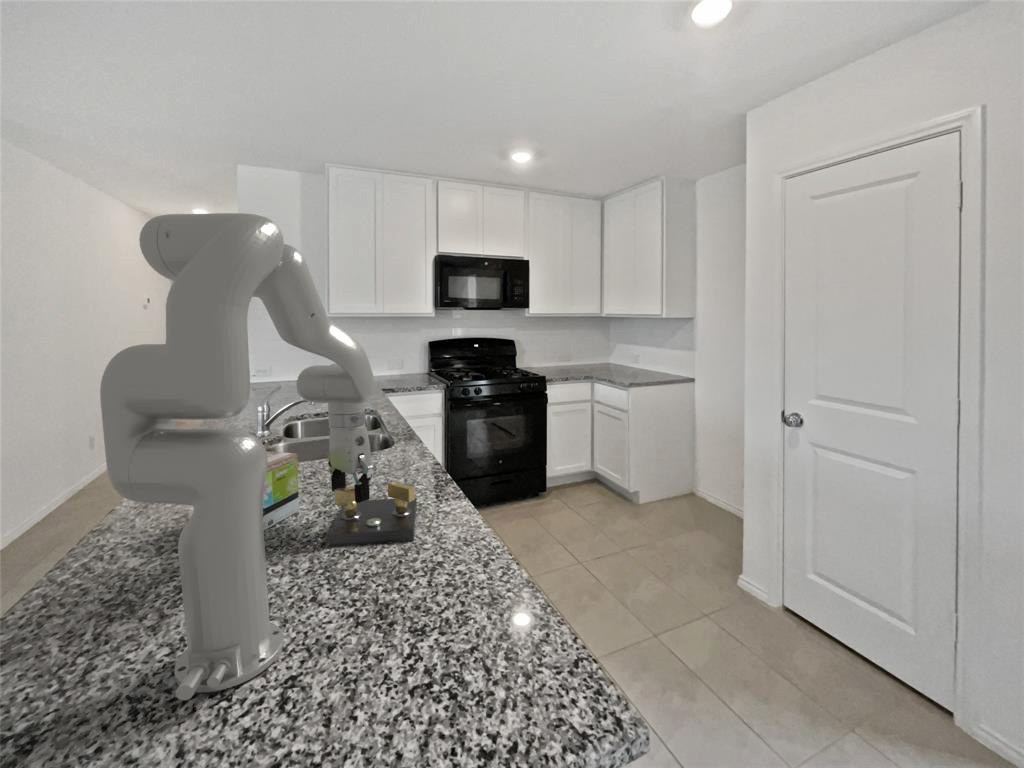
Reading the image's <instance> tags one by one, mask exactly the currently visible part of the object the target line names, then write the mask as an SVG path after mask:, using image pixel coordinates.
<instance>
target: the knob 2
mask: <svg viewBox="0 0 1024 768" xmlns="http://www.w3.org/2000/svg"><path fill="white" fill-rule="evenodd" d="M415 496H416V495H415V486H413V485H408V484H405V483H402V482H397V481H390V482H388V483H387V497H389V498H390V499H395V502H396V512H397V513H404V512H407V502H411V501H413V500H415V498H416V497H415Z"/></svg>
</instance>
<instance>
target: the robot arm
mask: <svg viewBox="0 0 1024 768" xmlns="http://www.w3.org/2000/svg"><path fill="white" fill-rule="evenodd" d="M138 240H139V246H140V250H141V254H142V256H143V258H144V259H145V261H146V263H147V264H148V265H149V266H150V267H151V268H152V269H153V270H154V271H155V272H157V274H159V275H160V276H162V277H164V278H166V279H168V280H170V281H173V282H172V284H171V286H170V289H169V291H168V294H167V297H166V303H165V343H163V344H162V343H159V344H158V343H155V344H154V343H146V344H145V343H144V344H143V343H142V344H137V345H133V346H129V347H126V348H123V349H122V350H120V351H119V352H117V353H116V354H115V355H114V356H113V357H112V358H111V359H110V360H109V362H107V365H106V367H105V369H104V371H103V374H102V376H101V381H100V387H99V388H100V389H99V393H100V395H99V396H100V410H101V421H102V430H103V431H102V432H103V442H104V451H105V452H104V454H105V462H106V470H107V474H108V479H109V481H110V484H111V486H112V487H113V490H114V491H115V492H116V493H117V494H118V495H119V496H120V497H122V498H123V499H125V500H128V501H130V502H135V503H143V504H168V505H169V504H171V505H172V504H173V505H183V506H184V505H186V506H187V505H188V506H192V508H193V509H192V511H193V512H192V513H191V514H192V515H191V516H190V518H189V520H188V521H187V522H186V524H185V526H184V527H183V528H182V530H181V532H180V533H179V534H180V535H179V539H178V544H177V552H178V555H177V556H178V561H179V572H180V573H179V575H180V584H181V585H180V586H181V594H182V605H183V615H184V623H185V624H184V625H185V636H186V638H185V639H186V647H187V648H186V649H185V650H184V651H183V652H182V653H181V655H180V656H178V658H177V661H176V662H175V665H174V671H173V672H174V680H175V682H176V684H177V688H176V689H175V697H176V698H177V699H178V700H179V701H188V700H190V699H191V698H192V697H193V696H194V694H195V693H197V694H198V693H200V694H201V693H202V692H203V693H213V692H219V691H224V690H227V688H228V689H231V688H234V687H236V686H238V685H241V684H244V683H245V682H247V681H249V680H251V679H253V678H255V677H256V676H258V675H260V674H261V673H263V672H264V671H266V669H267V668H269V667H270V666H271V665H272V664H273V663H274V662H275V661H276V659H278V657H279V656H280V655H281V652H282V650H283V647H284V643H285V642H284V640H285V639H284V633H283V630H282V629H281V628H280V627H279V626H278V625H276V624H274V623H273V622H270V608H269V606H270V605H269V592H268V591H269V590H268V577H267V576H268V575H267V564H266V563H267V562H266V561H267V560H266V547H265V535H264V531H265V530H263V496H264V487H265V480H266V474H267V465H268V457H267V452H266V451H267V449H266V447H265V445H264V444H263V443H262V440H260V439H259V438H258V437H257V436H254V435H253V434H250V433H248V432H245V431H241V430H235V429H226V428H176V420H185V421H186V420H187V421H188V420H192V421H193V420H194V421H195V420H197V421H204V420H205V421H206V420H209V421H210V420H222V419H223V420H224V419H229V418H233V417H235V416H237V415H239V414H241V413H242V412H243V411H244V410H245V409H246V407H247V406H248V403H249V399H250V394H251V373H250V372H251V370H250V355H249V352H250V351H249V349H250V348H249V334H248V311H249V307H250V303H251V300H252V298H258V299H260V300H261V301H262V302H261V303H262V304H263V306H264V307H265V310H266V312H267V314H268V315H269V317H270V319H271V321H272V324H273V325H274V327H275V329H276V331H277V333H278V336H279V338H281V340H283V341H284V342H286V343H287V344H289V345H291V346H292V347H295V348H298V349H299V350H303V351H306V352H308V353H310V354H314V355H317V356H319V357H322V358H325V359H328V360H330V361H332V362H334V363H332V364H329V365H323V364H322V365H321V364H320V365H318V364H316V365H311V366H308V367H306V368H305V369H303V370H302V371H301V372H300V373H299V374H298V376H297V379H296V390H297V393H298V395H299V396H300V397H301V399H303V400H305V401H306V402H309V403H315V404H327V412H328V413H327V414H328V415H327V416H328V429H329V437H328V438H329V441H328V442H329V443H328V446H329V448H328V449H329V450H328V451H327V452H326V457H327V460H328V462H327V464H328V466H329V468H330V469H329V473H330V475H331V476H330V481H331V491H332V492H333V493H334V490H335V489H339V488H340V489H341V488H346V487H347V482H346V474H349V475H352V477H353V479H354V481H355V484H354V485H353V486H355V502H356V503H359V502H363V501H366V500H370V497H371V496H370V494H371V493H370V483H371V479H372V478H373V472H374V465H373V464H372V457H371V456H372V455H371V444H370V438H369V433H368V429H367V426H366V403H365V402H368V401H369V400H370V399H371V398H372V396H373V394H374V391H375V377H374V374H373V370H372V366H371V364H370V361H369V358H368V357H369V356H368V355H367V353H366V350H365V349H364V348H363V346H362V345H361V344H360V342H358V341H357V339H355V338H354V337H353V336H352V335H350V334H349V333H348V332H346V330H344V329H343V328H342V327H340V326H339V325H337V324H336V323H335V322H333V321H331V320H330V319H329V317H328V316H327V313H326V310H325V307H324V306H323V302H322V300H321V297H320V295H319V292H318V290H317V287H316V285H315V283H314V280H313V277H312V274H311V271H310V270H309V267H308V264H307V262H306V260H305V258H304V255H302V253H301V252H300V251H299V250H298V248H295V247H294V246H292V245H290V244H286V243H284V236H283V233H282V230H281V228H280V226H279V225H278V224H277V223H276V222H275V221H273V220H272V219H270V218H268V217H266V216H262V215H258V214H254V213H253V214H252V213H239V212H237V213H236V212H233V213H232V212H228V213H227V212H223V213H221V212H219V213H218V212H215V213H214V212H213V213H175V214H174V213H172V214H171V213H170V214H160V215H158V216H155V217H151V219H149V220H148V221H146V222H145V224H144V225H143V226H142V228H141V230H140V233H139V239H138ZM360 474H362V475H361V476H359V475H360ZM233 686H234V687H233Z"/></svg>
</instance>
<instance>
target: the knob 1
mask: <svg viewBox="0 0 1024 768" xmlns="http://www.w3.org/2000/svg"><path fill="white" fill-rule="evenodd" d="M333 497H334V499H333V500H334V504H335V505H336V506H341V505H342V506H343V504H345V515H346V516H354V515H356V514H357V503H356V502H355V486H354V485H351V486H348V487H347V486H346V488H341V489H340V488H339V489H335V490H334V492H333Z"/></svg>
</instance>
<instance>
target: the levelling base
mask: <svg viewBox="0 0 1024 768" xmlns="http://www.w3.org/2000/svg"><path fill="white" fill-rule="evenodd" d="M417 499H418V498H417V497H415V500H413V501H411V502H407V512H404V513H397V512H396V502H395V498H384V499H369V500H366V501H363V502H359V503H357V514H356V515H354V516H346V515H345V504H342V506H341V508H340V510H339V512H338V514H337V516H336V519H335V521H334V522H333V525H332V527H331V529H330V531H329V533H328V534H327V535H328V536H327V537H328V539H327V540H328V541H327V542H328V547H341V546H357V545H370V544H384V543H385V544H386V543H397V542H398V543H400V542H412V541H415V531H416V530H415V529H416V519H417V518H416V517H417V509H418V506H417V502H418V501H417Z"/></svg>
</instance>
